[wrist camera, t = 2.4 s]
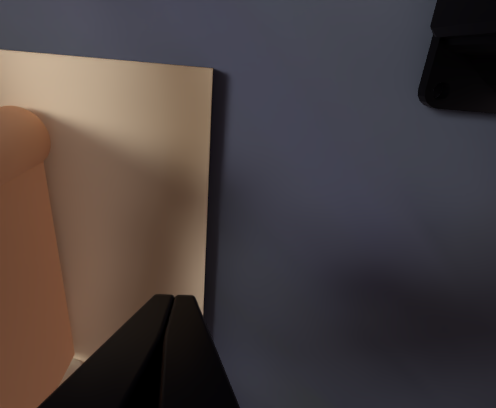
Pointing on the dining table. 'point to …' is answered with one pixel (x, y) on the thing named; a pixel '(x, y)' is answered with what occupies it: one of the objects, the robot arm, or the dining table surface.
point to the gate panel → (29, 268)
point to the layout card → (120, 179)
